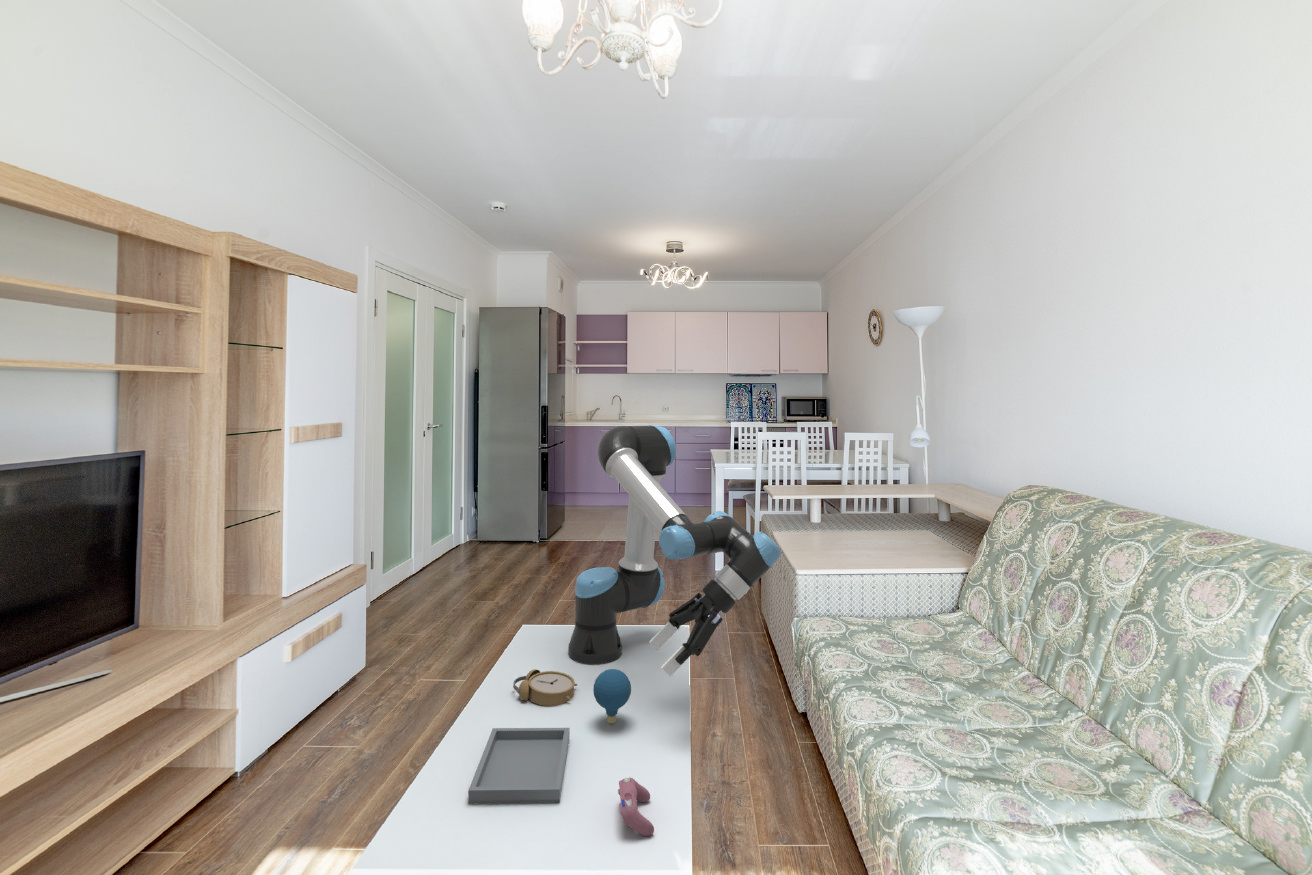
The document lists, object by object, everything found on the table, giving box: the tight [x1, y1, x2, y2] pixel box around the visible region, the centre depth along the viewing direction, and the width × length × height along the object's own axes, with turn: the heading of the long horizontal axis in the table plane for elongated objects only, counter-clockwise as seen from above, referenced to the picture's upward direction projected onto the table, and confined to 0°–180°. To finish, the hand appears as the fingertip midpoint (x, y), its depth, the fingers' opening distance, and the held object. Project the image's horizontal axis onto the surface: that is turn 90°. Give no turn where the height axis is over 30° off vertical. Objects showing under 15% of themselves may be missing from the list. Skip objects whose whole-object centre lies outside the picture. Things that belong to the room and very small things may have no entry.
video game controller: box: [617, 776, 655, 837], centre depth 103 cm, size 10×5×7 cm, turn 5°
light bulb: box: [593, 668, 632, 724], centre depth 133 cm, size 8×8×12 cm
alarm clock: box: [512, 669, 578, 707], centre depth 145 cm, size 11×5×15 cm
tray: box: [467, 727, 571, 805], centre depth 116 cm, size 20×16×2 cm
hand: (659, 658), depth 134 cm, fingers open, 13 cm apart
